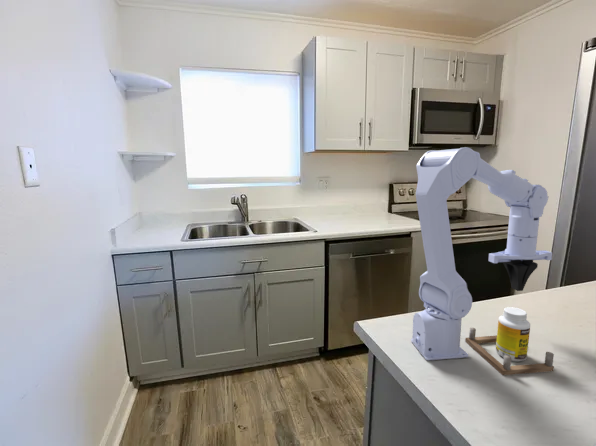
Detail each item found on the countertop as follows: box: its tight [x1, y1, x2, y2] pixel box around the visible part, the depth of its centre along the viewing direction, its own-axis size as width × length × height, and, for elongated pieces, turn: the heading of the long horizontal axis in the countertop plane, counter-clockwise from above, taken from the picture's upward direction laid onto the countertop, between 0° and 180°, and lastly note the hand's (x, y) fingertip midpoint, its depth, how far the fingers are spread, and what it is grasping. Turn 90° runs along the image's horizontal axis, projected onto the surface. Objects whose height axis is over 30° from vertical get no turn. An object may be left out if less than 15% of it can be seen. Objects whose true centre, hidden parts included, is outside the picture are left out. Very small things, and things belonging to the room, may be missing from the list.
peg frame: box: [464, 327, 555, 376], centre depth 66 cm, size 11×12×4 cm
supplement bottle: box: [495, 306, 531, 362], centre depth 66 cm, size 6×6×10 cm
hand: (517, 289), depth 75 cm, fingers closed
